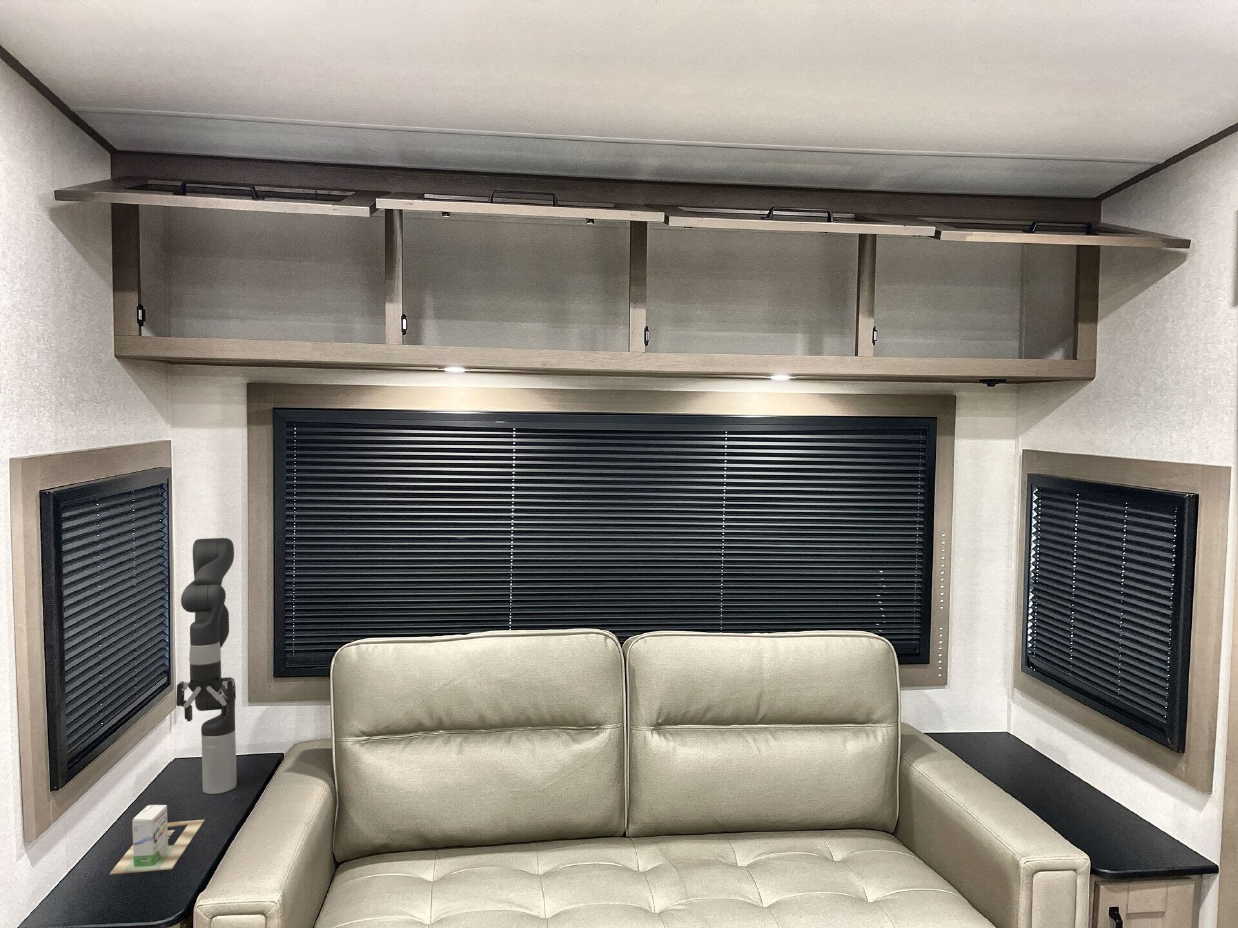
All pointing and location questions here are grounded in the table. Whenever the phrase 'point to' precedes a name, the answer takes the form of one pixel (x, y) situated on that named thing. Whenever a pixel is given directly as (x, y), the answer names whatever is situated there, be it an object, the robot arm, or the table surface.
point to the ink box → (150, 835)
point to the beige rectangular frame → (168, 857)
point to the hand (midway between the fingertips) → (206, 719)
